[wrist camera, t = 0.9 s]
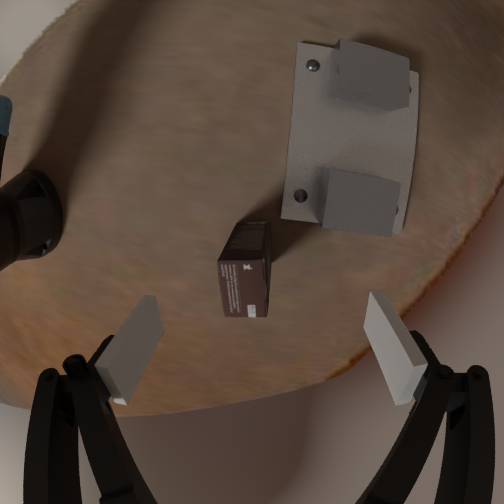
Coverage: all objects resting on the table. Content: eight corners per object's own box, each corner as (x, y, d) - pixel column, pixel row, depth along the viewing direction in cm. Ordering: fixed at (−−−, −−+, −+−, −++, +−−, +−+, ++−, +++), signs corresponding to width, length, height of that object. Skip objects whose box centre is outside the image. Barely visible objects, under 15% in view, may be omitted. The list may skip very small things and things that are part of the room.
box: (233, 222, 34) (215, 259, 23) (270, 220, 34) (269, 257, 23) (237, 266, 36) (223, 319, 25) (271, 265, 36) (271, 318, 25)
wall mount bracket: (280, 216, 33) (282, 230, 28) (296, 45, 25) (301, 25, 20) (396, 231, 33) (417, 247, 27) (414, 74, 25) (438, 65, 19)
